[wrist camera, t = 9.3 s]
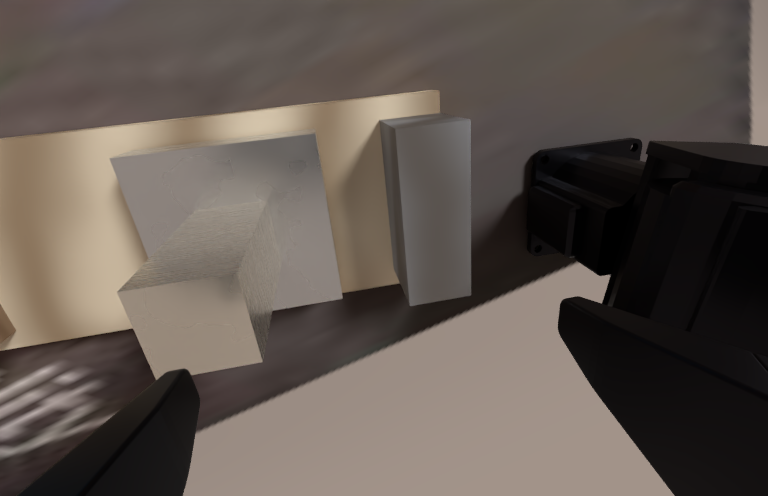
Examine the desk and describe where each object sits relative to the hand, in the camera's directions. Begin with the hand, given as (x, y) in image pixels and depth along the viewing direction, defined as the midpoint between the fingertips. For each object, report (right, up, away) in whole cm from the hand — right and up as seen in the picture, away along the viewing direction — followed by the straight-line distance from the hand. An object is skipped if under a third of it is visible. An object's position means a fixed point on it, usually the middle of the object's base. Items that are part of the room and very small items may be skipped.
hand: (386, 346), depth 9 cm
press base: (-9, +4, +11) cm, 15 cm away
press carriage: (-7, +4, +10) cm, 12 cm away
